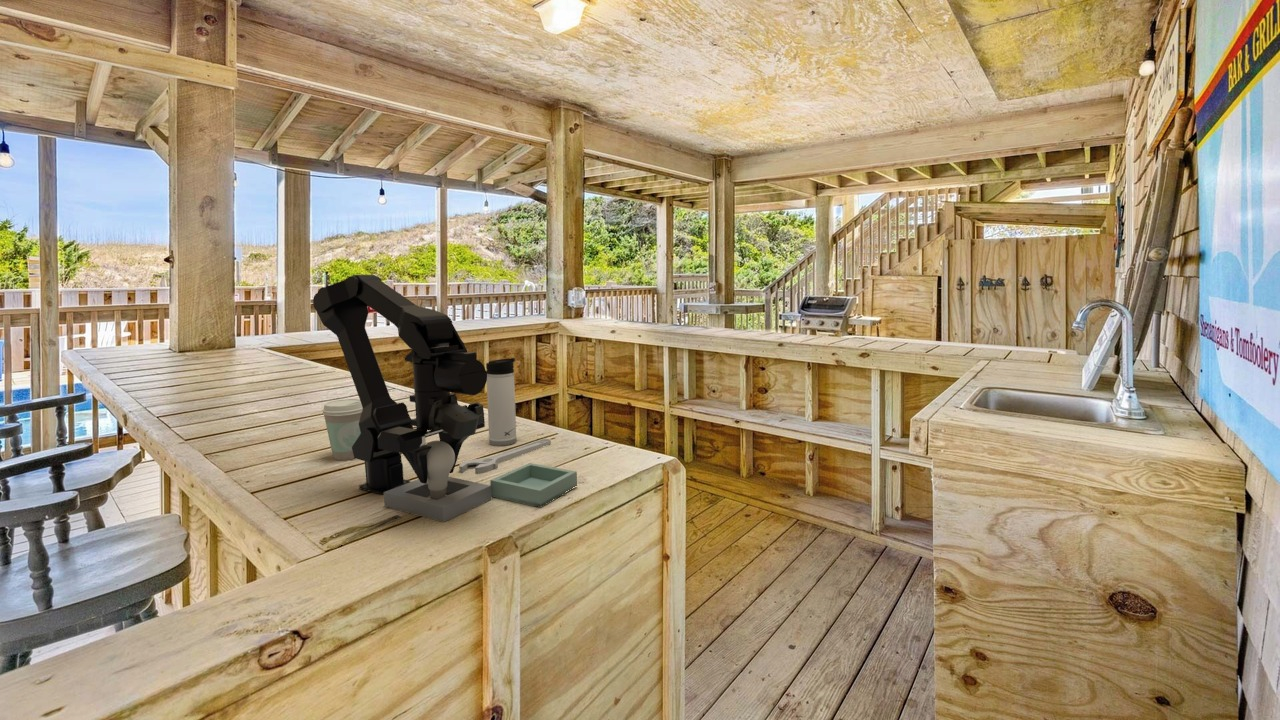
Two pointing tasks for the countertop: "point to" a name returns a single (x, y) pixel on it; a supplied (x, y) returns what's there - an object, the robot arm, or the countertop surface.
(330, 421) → the coffee cup
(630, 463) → the countertop surface
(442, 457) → the lightbulb
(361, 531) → the tongs
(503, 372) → the travel mug
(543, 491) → the parts tray
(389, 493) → the socket board
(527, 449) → the adjustable wrench
